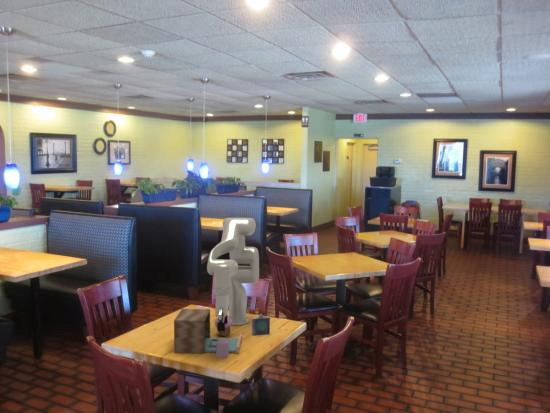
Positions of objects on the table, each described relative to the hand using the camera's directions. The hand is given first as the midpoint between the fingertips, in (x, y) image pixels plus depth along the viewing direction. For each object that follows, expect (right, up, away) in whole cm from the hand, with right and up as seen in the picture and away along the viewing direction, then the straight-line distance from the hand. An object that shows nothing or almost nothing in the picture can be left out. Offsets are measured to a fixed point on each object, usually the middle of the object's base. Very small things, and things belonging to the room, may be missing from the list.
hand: (222, 327), depth 214 cm
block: (0, -14, +2) cm, 14 cm away
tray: (-2, -12, +13) cm, 18 cm away
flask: (+17, -11, +29) cm, 36 cm away
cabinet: (-16, -12, +13) cm, 24 cm away
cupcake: (-2, -11, +28) cm, 30 cm away
